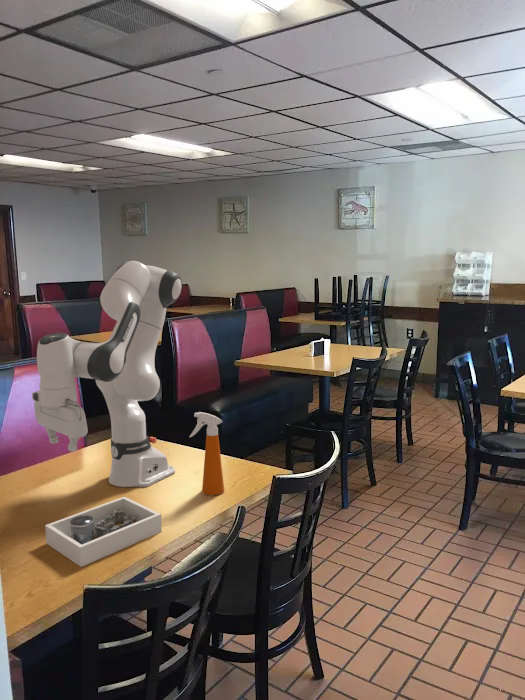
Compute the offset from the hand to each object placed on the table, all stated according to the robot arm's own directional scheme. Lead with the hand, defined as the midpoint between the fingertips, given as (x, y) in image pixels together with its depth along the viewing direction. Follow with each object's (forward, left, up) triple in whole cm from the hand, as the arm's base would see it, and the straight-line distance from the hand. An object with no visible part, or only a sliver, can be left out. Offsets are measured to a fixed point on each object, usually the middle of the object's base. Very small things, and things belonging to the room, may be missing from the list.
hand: (63, 446), depth 149 cm
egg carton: (-9, +9, -24) cm, 27 cm away
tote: (-5, +11, -24) cm, 26 cm away
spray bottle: (-43, +9, -24) cm, 50 cm away
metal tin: (+2, +11, -24) cm, 26 cm away
